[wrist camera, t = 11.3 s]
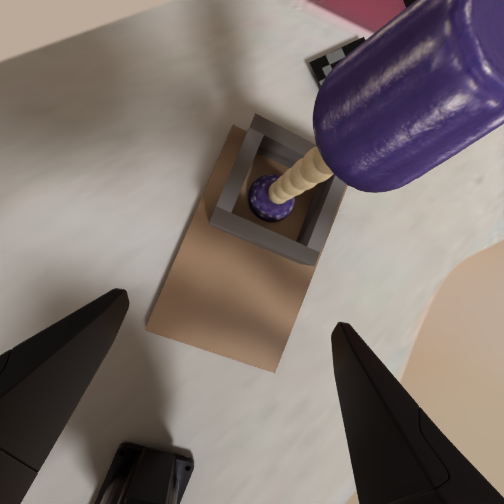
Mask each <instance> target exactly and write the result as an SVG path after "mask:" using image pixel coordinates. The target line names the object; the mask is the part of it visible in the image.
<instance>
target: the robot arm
mask: <svg viewBox="0 0 504 504" xmlns="http://www.w3.org/2000/svg"><path fill="white" fill-rule="evenodd" d="M128 308H129V299H128V295H127V291H126V290H125V289H119V288H115V289H112V290H111V291H109V292H107V293H106V294H104V295H102V296H101V297H99V298H97V299H95V300H94V301H92V302H90V303H89V304H87V305H85V306H83V307H82V308H80V309H78V310H77V311H75V312H73V313H72V314H70V315H68V316H66V317H65V318H63V319H61V320H60V321H58V322H56V323H54V324H53V325H51V326H49V327H48V328H46V329H44V330H43V331H41V332H39V333H37V334H36V335H34V336H32V337H31V338H29V339H27V340H25V341H24V342H22V343H20V344H19V345H17V346H15V347H14V348H13V349H12V350H8V351H7V352H5V353H3V354H1V355H0V504H20V503H21V502H22V500H23V498H24V496H25V495H26V493H27V491H28V490H29V488H30V486H31V484H32V483H33V481H34V479H35V477H36V476H37V474H38V473H37V472H39V470H40V468H41V467H42V465H43V463H44V462H45V460H46V458H47V456H48V455H49V453H50V451H51V449H52V448H53V446H54V444H55V443H56V441H57V439H58V437H59V436H60V434H61V432H62V430H63V429H64V427H65V425H66V423H67V422H68V420H69V418H70V417H71V415H72V413H73V411H74V410H75V408H76V406H77V404H78V403H79V401H80V399H81V398H82V396H83V394H84V392H85V391H86V389H87V387H88V385H89V384H90V382H91V380H92V378H93V377H94V375H95V373H96V372H97V370H98V368H99V366H100V365H101V363H102V361H103V359H104V358H105V356H106V354H107V353H108V351H109V349H110V347H111V345H112V344H113V342H114V340H115V338H116V335H117V333H118V331H119V329H120V326H121V324H122V322H123V320H124V317H125V315H126V313H127V311H128ZM331 343H332V354H333V366H334V375H335V381H336V386H337V391H338V396H339V402H340V407H341V412H342V417H343V422H344V427H345V432H346V438H347V443H348V448H349V453H350V458H351V463H352V469H353V474H354V479H355V484H356V489H357V494H358V500H359V504H504V498H503V496H501V494H500V493H499V492H498V491H497V490H496V489H495V488H494V487H493V486H492V485H491V484H490V483H489V482H488V481H487V480H486V479H485V477H484V476H483V475H482V474H481V473H480V472H479V471H478V470H477V469H476V468H475V467H474V466H473V465H472V464H471V463H470V462H469V461H468V460H467V459H466V458H465V457H464V456H463V454H461V452H460V451H459V450H458V449H457V448H456V447H455V446H454V445H453V444H452V443H451V442H450V440H448V438H447V437H446V436H445V435H444V434H443V433H442V432H441V431H440V429H439V428H438V427H437V426H436V425H435V424H434V423H433V421H431V419H430V418H429V417H428V416H427V414H426V413H425V412H424V411H423V410H422V409H421V408H420V407H419V405H418V404H417V403H416V402H415V400H414V399H413V398H412V397H411V396H410V395H409V393H408V392H407V391H406V390H405V389H404V388H403V386H402V385H401V384H400V383H399V382H398V380H397V379H396V378H395V377H394V376H393V375H392V373H391V372H390V371H389V370H388V369H387V367H386V366H385V365H384V364H383V363H382V362H381V360H380V359H379V358H378V357H377V356H376V355H375V353H374V352H373V351H372V350H371V349H370V347H369V346H368V345H367V344H366V343H365V342H364V340H363V339H362V338H361V337H360V336H359V335H358V333H357V332H356V331H355V330H354V329H353V327H352V326H351V325H350V324H349V323H344V322H338V323H337V325H336V327H335V329H334V330H333V332H332V335H331ZM122 450H126V451H125V452H124V451H122ZM187 465H190V466H189V467H187ZM193 469H194V460H193V459H191V458H188V457H184V456H180V455H176V454H172V453H168V452H164V451H160V450H155V449H151V448H147V447H143V446H139V445H135V444H131V443H126V442H125V443H122V444H121V445H120V446H119V448H118V450H117V452H116V454H115V457H114V459H113V461H112V464H111V466H110V468H109V471H108V473H107V476H106V478H105V480H104V483H103V485H102V487H101V490H100V492H99V494H98V497H97V499H96V501H95V504H180V502H181V499H182V497H183V494H184V492H185V489H186V487H187V484H188V482H189V479H190V477H191V474H192V472H193Z"/></svg>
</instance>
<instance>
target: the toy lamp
mask: <svg viewBox="0 0 504 504" xmlns="http://www.w3.org/2000/svg"><path fill="white" fill-rule="evenodd" d="M502 124H504V0H416V1H415V2H414V3H412V4H411V5H410V6H408V7H407V8H406V9H405V10H403V11H402V12H401V13H400V14H398V15H397V16H396V17H394V18H393V19H392V20H391V21H389V22H388V23H387V24H386V25H385V26H383V27H382V28H381V29H380V30H378V31H377V32H376V33H374V34H373V35H372V36H371V37H369V38H368V39H367V40H366V41H364V42H363V43H362V44H361V45H359V46H358V47H357V48H356V49H354V50H353V51H352V52H351V53H349V54H348V55H347V56H345V57H344V58H343V59H342V60H341V61H340V62H339V63H338V64H337V65H336V66H335V67H334V68H333V69H332V70H331V71H330V73H329V74H328V75H327V77H326V78H325V80H324V82H323V83H322V86H321V88H320V90H319V92H318V94H317V97H316V100H315V105H314V111H313V130H314V134H315V140H316V144H317V146H316V147H314V148H312V149H311V150H309V151H308V152H307V153H306V155H305V156H304V157H303V158H302V159H299V160H298V161H297V162H296V163H295V164H294V165H293V167H292V168H290V169H288V170H287V171H286V172H285V173H284V175H282V176H280V175H276V174H267V175H263V176H261V177H260V178H258V179H257V180H255V182H254V183H253V184H252V185H251V187H250V190H249V194H248V201H249V205H250V208H251V210H252V212H253V213H254V214H255V215H256V216H257V217H258V218H260V219H261V220H263V221H266V222H278V221H280V220H283V219H284V218H286V217H287V216H288V215H289V214H290V212H291V211H292V209H293V206H294V202H295V196H296V195H300V194H301V193H303V192H304V191H305V190H308V189H311V188H313V187H314V186H315V185H317V183H320V182H323V181H325V180H327V179H328V178H330V177H331V176H332V175H333V174H334V175H336V176H337V177H338V178H339V179H340V180H342V181H343V182H344V183H345V184H347V185H348V186H351V187H354V188H355V189H357V190H360V191H364V192H373V193H377V192H386V191H391V190H394V189H398V188H400V187H402V186H404V185H406V184H408V183H410V182H412V181H413V180H415V179H417V178H419V177H421V176H422V175H424V174H425V173H427V172H428V171H430V170H431V169H433V168H435V167H436V166H438V165H439V164H441V163H443V162H444V161H446V160H448V159H449V158H451V157H452V156H454V155H456V154H457V153H459V152H460V151H462V150H463V149H465V148H466V147H468V146H469V145H471V144H473V143H474V142H476V141H477V140H479V139H480V138H482V137H484V136H485V135H487V134H488V133H490V132H491V131H493V130H495V129H496V128H498V127H499V126H501V125H502Z"/></svg>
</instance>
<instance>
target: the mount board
mask: <svg viewBox="0 0 504 504" xmlns="http://www.w3.org/2000/svg"><path fill="white" fill-rule="evenodd" d="M314 147H316V145H314V144H312V143H310V142H309V141H307V140H305V139H303V138H301V137H299V136H297V135H295V134H294V133H292V132H290V131H288V130H286V129H284V128H282V127H280V126H278V125H277V124H275V123H273V122H271V121H269V120H267V119H265V118H263V117H262V116H260V115H258V114H256V113H255V116H254V118H253V120H252V123H251V125H250V127H249V130H248V132H246V131H244V130H243V129H241V128H239V127H237V126H235V125H233V126H232V128H231V131H230V133H229V135H228V138H227V140H226V142H225V145H224V147H223V149H222V152H221V154H220V156H219V159H218V161H217V163H216V166H215V168H214V170H213V173H212V175H211V177H210V180H209V182H208V184H207V186H206V189H205V191H204V193H203V196H202V198H201V200H200V203H199V205H198V207H197V210H196V212H195V214H194V217H193V219H192V221H191V224H190V226H189V228H188V231H187V233H186V235H185V238H184V240H183V242H182V244H181V247H180V249H179V251H178V254H177V256H176V258H175V261H174V263H173V265H172V268H171V270H170V272H169V275H168V277H167V279H166V282H165V284H164V286H163V289H162V291H161V293H160V296H159V298H158V300H157V302H156V305H155V307H154V309H153V312H152V314H151V316H150V319H149V321H148V323H147V326H146V328H145V330H146V331H149V332H152V333H155V334H158V335H161V336H164V337H167V338H170V339H173V340H176V341H179V342H182V343H185V344H188V345H191V346H194V347H198V348H201V349H204V350H207V351H210V352H213V353H216V354H219V355H222V356H225V357H228V358H231V359H234V360H237V361H240V362H243V363H246V364H249V365H252V366H255V367H258V368H261V369H264V370H267V371H270V372H273V373H275V372H276V369H277V367H278V364H279V361H280V359H281V356H282V354H283V351H284V349H285V346H286V343H287V341H288V338H289V336H290V333H291V330H292V328H293V325H294V323H295V320H296V318H297V315H298V312H299V310H300V307H301V305H302V302H303V300H304V297H305V294H306V292H307V289H308V287H309V284H310V282H311V279H312V276H313V274H314V271H315V269H316V266H317V263H318V261H319V258H320V256H321V253H322V251H323V248H324V245H325V243H326V240H327V238H328V235H329V233H330V230H331V227H332V225H333V222H334V220H335V217H336V214H337V212H338V209H339V207H340V204H341V202H342V199H343V196H344V194H345V191H346V189H347V186H348V185H347V184H345V183H344V182H343V181H342V180H340V179H339V178H338V177H337V176H336V175H334V174H333V175H332V176H331V177H330V178H328V179H327V180H325V181H323V182H320V183H317V185H315V186H314V187H313V188H311V189H308V190H305V191H304V192H303V193H301V194H300V195H296V196H295V202H294V206H293V209H292V211H291V212H290V214H289V215H288V216H287V217H286V218H284V219H283V220H280V221H278V222H266V221H263V220H261V219H260V218H258V217H257V216H256V215H255V214H254V213H253V212H252V210H251V208H250V205H249V201H248V194H249V190H250V187H251V185H252V184H253V183H254V182H255V180H257V179H258V178H260V177H261V176H263V175H267V174H276V175H280V176H282V175H284V173H285V172H286V171H287V170H288V169H290V168H292V167H293V165H294V164H295V163H296V162H297V161H298V160H299V159H302V158H303V157H304V156H305V155H306V153H307V152H308V151H309V150H311V149H312V148H314Z"/></svg>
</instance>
